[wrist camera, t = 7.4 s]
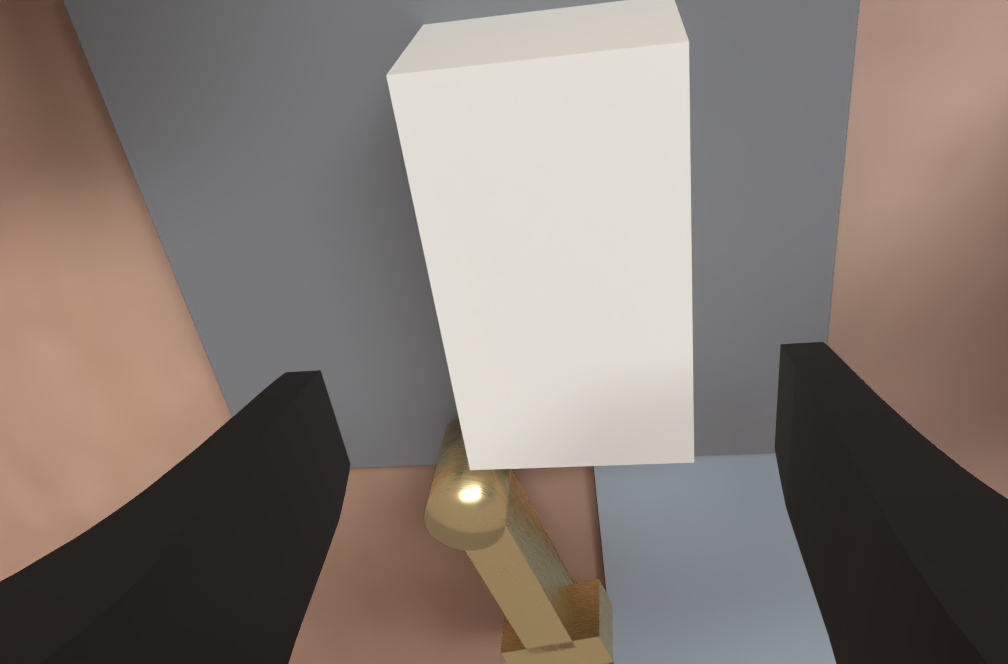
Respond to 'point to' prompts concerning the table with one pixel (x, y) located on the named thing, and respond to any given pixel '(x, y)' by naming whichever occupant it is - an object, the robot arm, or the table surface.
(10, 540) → the table surface
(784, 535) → the mat
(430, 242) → the white rectangular block
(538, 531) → the brass T-key
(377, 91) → the base plate
